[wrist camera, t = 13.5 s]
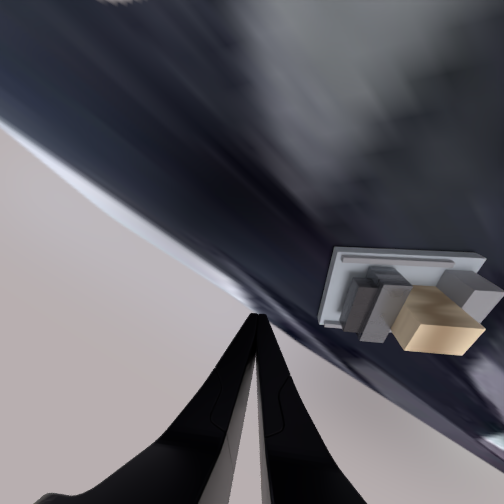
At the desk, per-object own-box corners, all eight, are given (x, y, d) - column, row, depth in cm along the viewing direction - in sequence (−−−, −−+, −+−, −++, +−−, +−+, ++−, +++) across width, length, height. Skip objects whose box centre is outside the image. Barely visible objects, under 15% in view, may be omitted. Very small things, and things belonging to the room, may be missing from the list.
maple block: (435, 286, 20) (485, 329, 15) (420, 310, 22) (462, 355, 17) (386, 283, 21) (420, 324, 16) (376, 307, 22) (403, 350, 18)
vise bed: (475, 252, 19) (525, 278, 15) (426, 325, 24) (455, 358, 21) (334, 246, 20) (348, 269, 17) (317, 317, 26) (325, 346, 22)
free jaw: (394, 267, 19) (413, 286, 17) (370, 321, 23) (383, 342, 21) (351, 265, 20) (363, 283, 17) (335, 318, 24) (343, 339, 21)
